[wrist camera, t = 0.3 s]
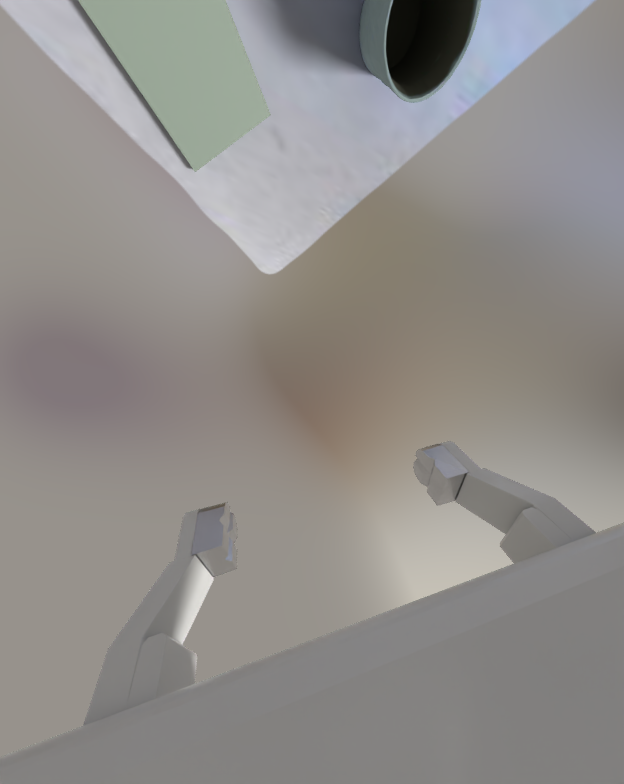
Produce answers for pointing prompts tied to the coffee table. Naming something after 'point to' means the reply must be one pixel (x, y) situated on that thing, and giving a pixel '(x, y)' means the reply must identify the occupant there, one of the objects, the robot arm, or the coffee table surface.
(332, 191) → the coffee table surface
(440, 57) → the green plant pot
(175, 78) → the sage board
